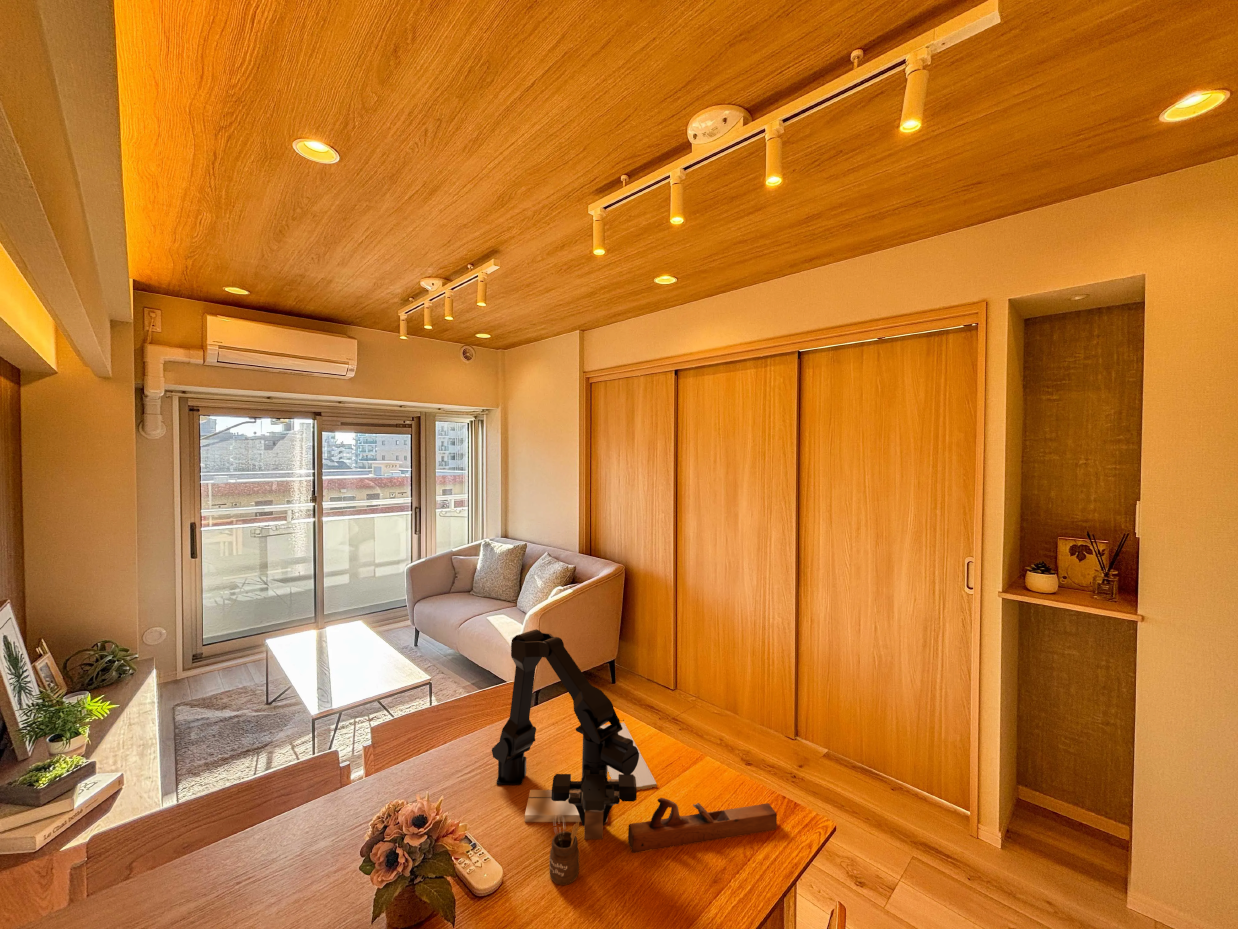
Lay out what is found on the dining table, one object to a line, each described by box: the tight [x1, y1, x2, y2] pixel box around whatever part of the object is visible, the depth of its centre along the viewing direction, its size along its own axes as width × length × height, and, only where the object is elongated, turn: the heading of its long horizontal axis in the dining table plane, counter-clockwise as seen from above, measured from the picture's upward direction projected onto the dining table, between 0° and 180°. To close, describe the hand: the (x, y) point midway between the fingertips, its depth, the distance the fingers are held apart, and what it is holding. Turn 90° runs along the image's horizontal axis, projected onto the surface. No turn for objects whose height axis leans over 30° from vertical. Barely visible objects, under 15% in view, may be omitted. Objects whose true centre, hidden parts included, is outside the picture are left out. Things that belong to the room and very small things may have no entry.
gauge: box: [583, 810, 604, 840], centre depth 121 cm, size 4×13×6 cm, turn 4°
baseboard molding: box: [600, 719, 658, 791], centre depth 146 cm, size 31×3×12 cm
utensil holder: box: [549, 814, 580, 886], centre depth 105 cm, size 6×6×12 cm
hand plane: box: [627, 797, 778, 854], centre depth 116 cm, size 34×5×10 cm, turn 106°
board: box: [524, 789, 609, 823], centre depth 124 cm, size 19×9×2 cm, turn 92°
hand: (593, 824), depth 117 cm, fingers closed on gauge, 4 cm apart
